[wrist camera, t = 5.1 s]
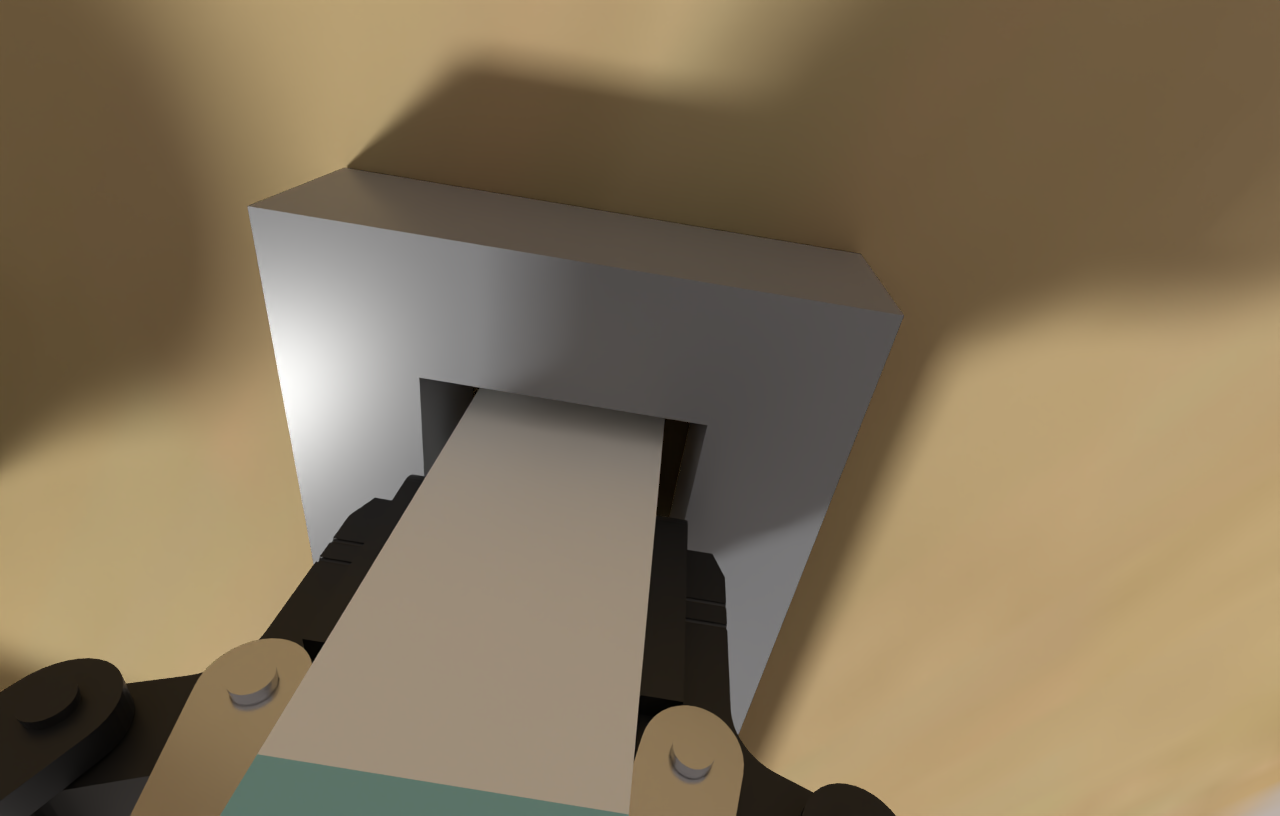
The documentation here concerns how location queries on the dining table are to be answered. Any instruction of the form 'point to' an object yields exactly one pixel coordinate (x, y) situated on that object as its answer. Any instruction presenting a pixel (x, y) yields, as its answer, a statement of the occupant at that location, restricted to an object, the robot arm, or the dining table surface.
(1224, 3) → the dining table surface
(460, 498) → the plug peg
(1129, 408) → the dining table surface
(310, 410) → the socket board
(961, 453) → the dining table surface
